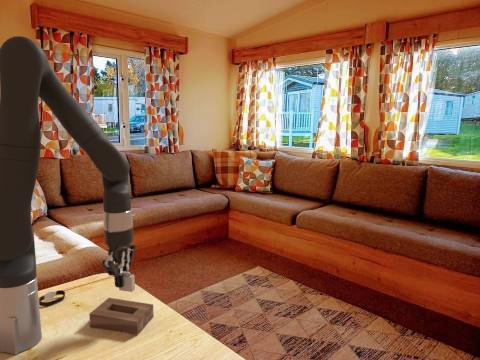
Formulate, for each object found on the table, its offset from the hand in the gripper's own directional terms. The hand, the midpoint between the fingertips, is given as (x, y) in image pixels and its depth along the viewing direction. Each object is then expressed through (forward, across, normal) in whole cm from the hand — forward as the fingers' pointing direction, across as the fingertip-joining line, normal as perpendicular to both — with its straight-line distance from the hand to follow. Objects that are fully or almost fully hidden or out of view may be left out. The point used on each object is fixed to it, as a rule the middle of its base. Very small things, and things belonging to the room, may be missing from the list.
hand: (121, 284), depth 99 cm
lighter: (+1, 0, 0) cm, 1 cm away
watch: (+12, -4, -27) cm, 30 cm away
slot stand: (+11, 0, 0) cm, 11 cm away
